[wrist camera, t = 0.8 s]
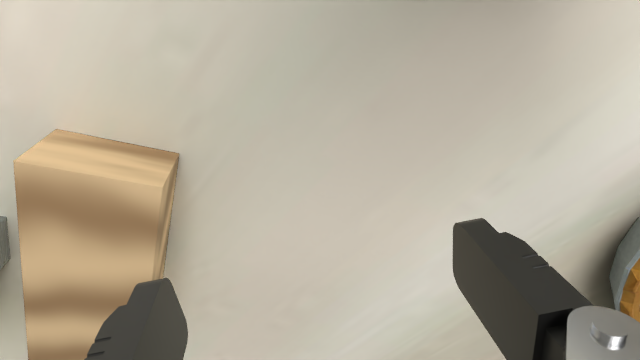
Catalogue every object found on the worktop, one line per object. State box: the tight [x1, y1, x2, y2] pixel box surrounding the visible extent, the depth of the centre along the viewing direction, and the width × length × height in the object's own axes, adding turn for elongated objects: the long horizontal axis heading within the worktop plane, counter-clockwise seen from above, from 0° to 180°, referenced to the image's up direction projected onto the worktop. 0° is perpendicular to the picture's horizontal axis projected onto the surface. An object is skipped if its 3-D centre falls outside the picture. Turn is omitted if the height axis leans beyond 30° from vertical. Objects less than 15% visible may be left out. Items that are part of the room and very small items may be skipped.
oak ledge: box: [13, 129, 179, 360], centre depth 29 cm, size 20×8×5 cm, turn 164°
